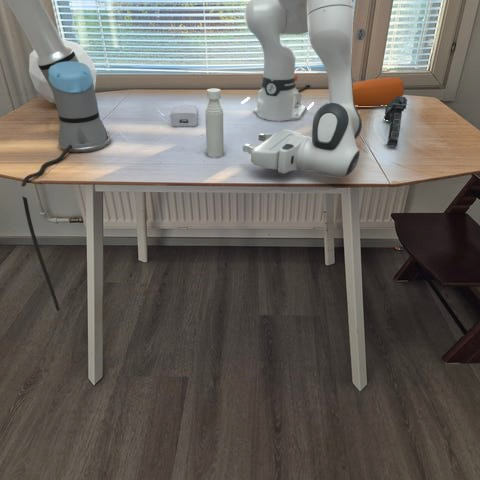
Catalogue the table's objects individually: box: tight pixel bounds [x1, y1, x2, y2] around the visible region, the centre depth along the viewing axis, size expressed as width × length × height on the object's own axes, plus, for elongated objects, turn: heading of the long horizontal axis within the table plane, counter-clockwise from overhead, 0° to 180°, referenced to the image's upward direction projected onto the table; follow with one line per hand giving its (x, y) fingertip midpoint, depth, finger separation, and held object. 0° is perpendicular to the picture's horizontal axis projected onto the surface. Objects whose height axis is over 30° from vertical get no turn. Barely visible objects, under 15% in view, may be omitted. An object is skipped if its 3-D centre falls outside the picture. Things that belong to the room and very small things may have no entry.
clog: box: [352, 76, 405, 109], centre depth 165 cm, size 12×11×25 cm
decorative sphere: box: [28, 38, 98, 105], centre depth 157 cm, size 24×25×25 cm
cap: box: [206, 87, 222, 100], centre depth 114 cm, size 4×4×2 cm
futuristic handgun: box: [383, 95, 408, 147], centre depth 138 cm, size 4×29×15 cm, turn 164°
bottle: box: [204, 99, 225, 159], centre depth 119 cm, size 5×5×19 cm
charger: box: [169, 105, 199, 127], centre depth 148 cm, size 5×9×15 cm
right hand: (251, 141), depth 115 cm, fingers open, 8 cm apart
